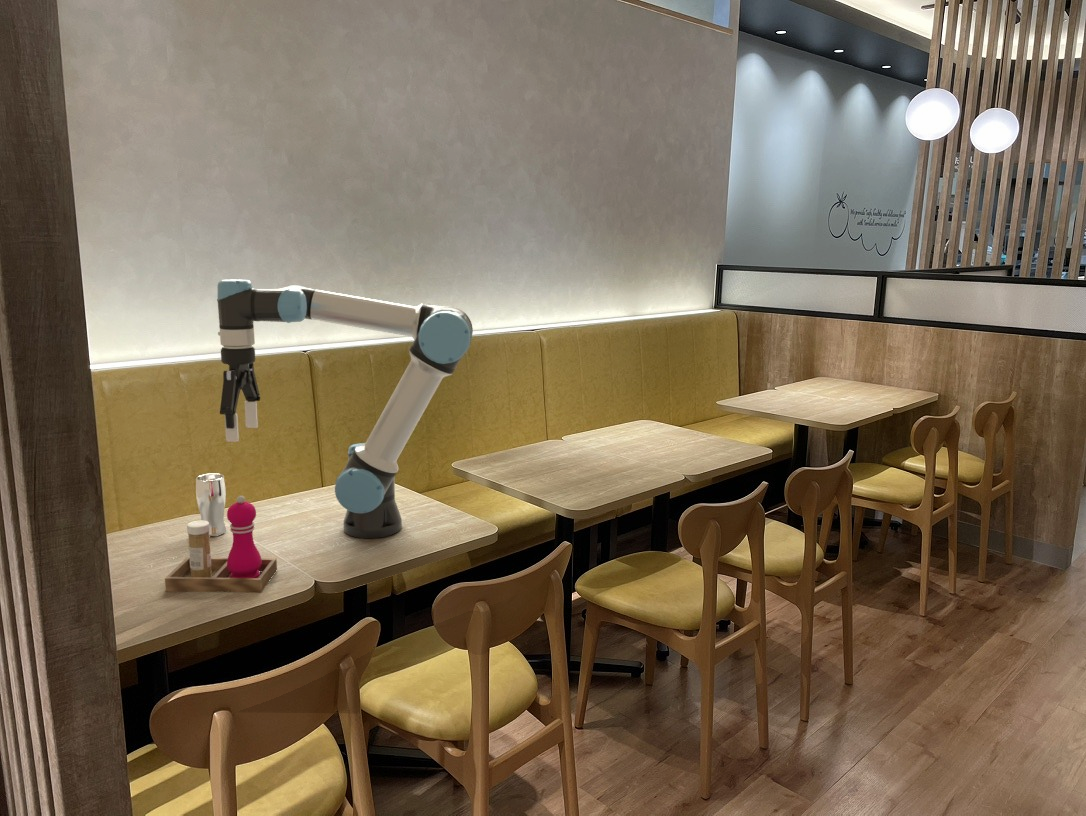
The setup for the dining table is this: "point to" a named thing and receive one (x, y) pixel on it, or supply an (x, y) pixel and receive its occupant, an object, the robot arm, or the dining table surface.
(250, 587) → the caddy
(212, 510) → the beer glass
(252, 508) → the pepper mill
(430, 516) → the dining table surface
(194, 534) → the sprinkles bottle
